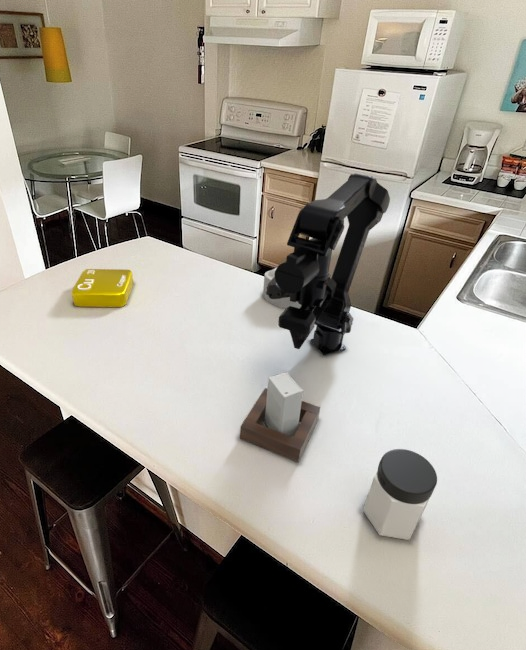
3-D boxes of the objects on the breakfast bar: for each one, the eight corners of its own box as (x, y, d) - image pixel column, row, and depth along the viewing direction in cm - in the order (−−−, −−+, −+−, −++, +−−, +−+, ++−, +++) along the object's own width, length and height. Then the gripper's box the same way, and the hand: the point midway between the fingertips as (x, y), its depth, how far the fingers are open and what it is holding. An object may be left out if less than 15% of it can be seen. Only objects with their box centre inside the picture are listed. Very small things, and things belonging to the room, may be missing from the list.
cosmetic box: (297, 435, 87) (304, 391, 80) (278, 442, 85) (284, 398, 78) (281, 414, 91) (286, 370, 84) (263, 421, 90) (267, 377, 83)
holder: (264, 399, 95) (265, 387, 93) (318, 419, 90) (320, 407, 88) (239, 438, 86) (240, 426, 84) (298, 462, 82) (300, 450, 80)
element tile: (125, 307, 124) (123, 293, 122) (72, 307, 124) (68, 292, 122) (134, 281, 137) (133, 267, 134) (86, 280, 137) (83, 266, 134)
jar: (378, 483, 78) (394, 438, 71) (425, 511, 74) (446, 465, 67) (355, 520, 72) (369, 474, 66) (404, 552, 68) (424, 506, 61)
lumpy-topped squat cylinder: (282, 284, 136) (284, 258, 131) (315, 301, 128) (319, 274, 123) (258, 296, 130) (259, 270, 125) (292, 314, 122) (295, 287, 117)
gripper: (290, 244, 94) (284, 305, 103) (254, 282, 81) (251, 349, 90) (342, 255, 90) (331, 318, 99) (313, 297, 77) (303, 366, 86)
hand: (304, 336), depth 94 cm, fingers open, 9 cm apart
